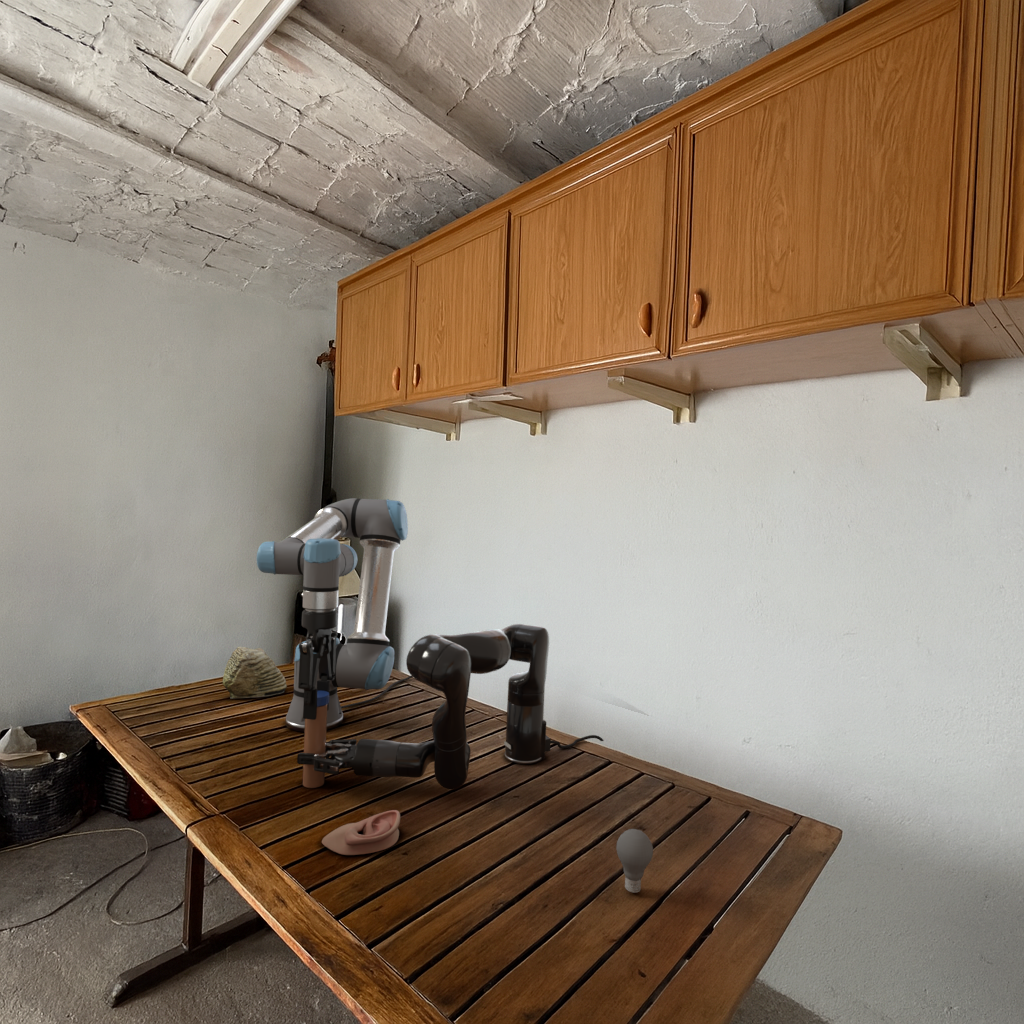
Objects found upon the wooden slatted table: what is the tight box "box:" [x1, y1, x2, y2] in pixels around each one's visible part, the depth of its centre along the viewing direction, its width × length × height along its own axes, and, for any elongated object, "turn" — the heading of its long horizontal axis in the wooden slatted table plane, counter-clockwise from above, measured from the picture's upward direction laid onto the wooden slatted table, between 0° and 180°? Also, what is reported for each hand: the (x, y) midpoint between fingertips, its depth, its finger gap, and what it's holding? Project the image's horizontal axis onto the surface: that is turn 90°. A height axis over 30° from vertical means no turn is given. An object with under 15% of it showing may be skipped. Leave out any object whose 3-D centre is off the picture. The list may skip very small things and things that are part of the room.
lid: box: [317, 691, 330, 707], centre depth 139 cm, size 5×5×2 cm
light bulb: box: [615, 828, 654, 894], centre depth 106 cm, size 6×6×10 cm
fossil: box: [222, 646, 288, 699], centre depth 198 cm, size 9×18×15 cm, turn 132°
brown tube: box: [302, 705, 327, 789], centre depth 140 cm, size 5×5×19 cm
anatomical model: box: [321, 809, 401, 856], centre depth 118 cm, size 13×4×12 cm
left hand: (316, 713), depth 140 cm, fingers closed on lid, 5 cm apart
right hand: (302, 753), depth 140 cm, fingers closed on brown tube, 4 cm apart
